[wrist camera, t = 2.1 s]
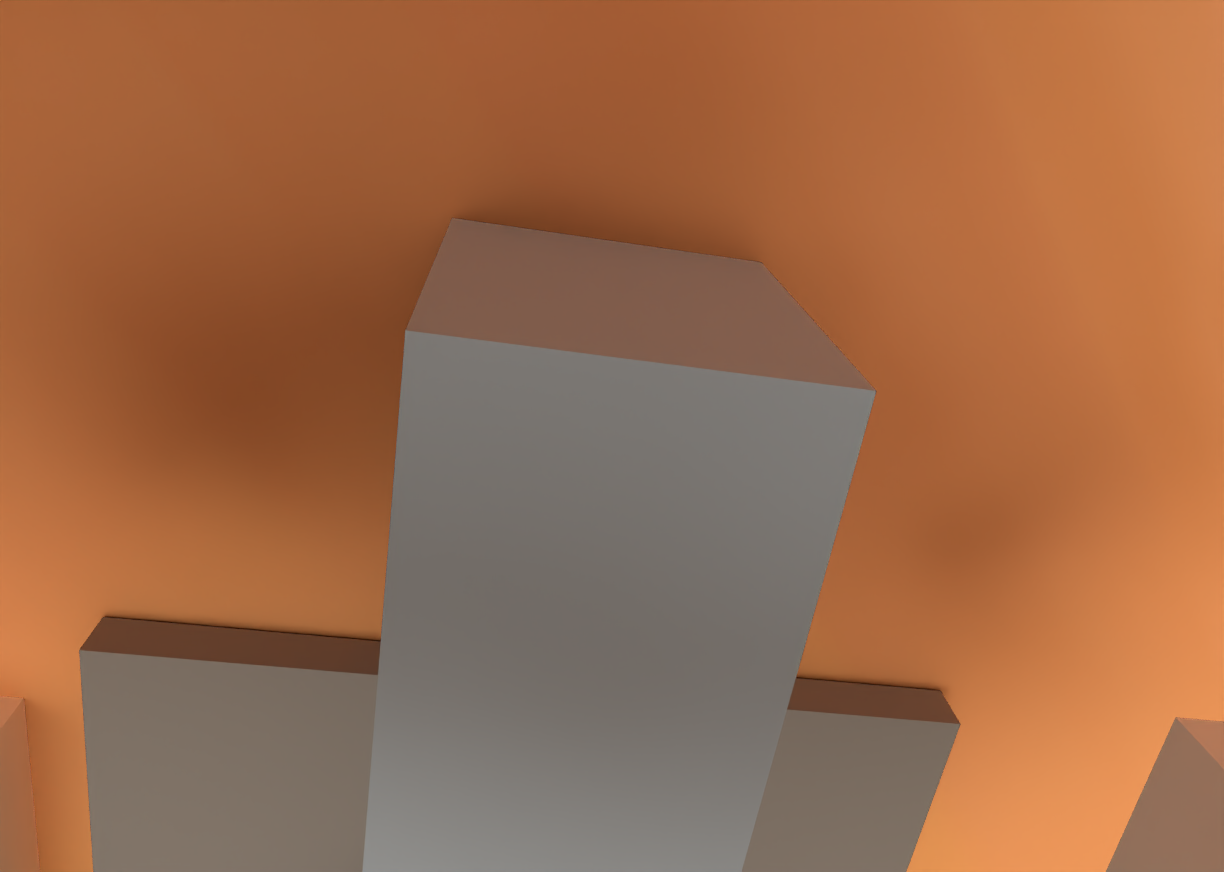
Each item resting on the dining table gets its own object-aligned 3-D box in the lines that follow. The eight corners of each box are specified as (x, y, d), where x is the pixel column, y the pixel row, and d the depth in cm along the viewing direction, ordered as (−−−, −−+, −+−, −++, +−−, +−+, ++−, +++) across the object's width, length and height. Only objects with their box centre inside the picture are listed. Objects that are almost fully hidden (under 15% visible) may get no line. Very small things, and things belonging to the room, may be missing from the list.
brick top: (452, 216, 15) (405, 330, 10) (759, 260, 16) (876, 391, 10) (412, 639, 18) (359, 905, 13) (672, 662, 19) (726, 925, 14)
